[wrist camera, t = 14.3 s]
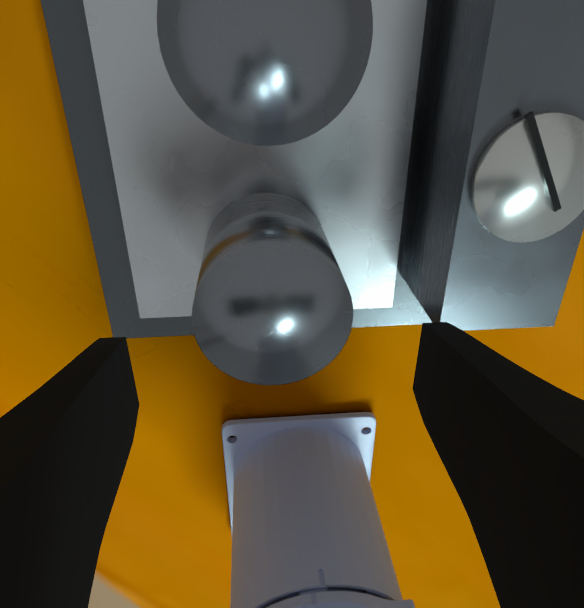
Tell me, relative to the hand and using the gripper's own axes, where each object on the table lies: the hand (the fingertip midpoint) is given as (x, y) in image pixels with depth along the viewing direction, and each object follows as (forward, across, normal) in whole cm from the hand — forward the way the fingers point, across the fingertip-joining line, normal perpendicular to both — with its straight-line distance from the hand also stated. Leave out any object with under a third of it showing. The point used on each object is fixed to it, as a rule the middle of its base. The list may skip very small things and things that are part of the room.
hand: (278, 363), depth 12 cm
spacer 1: (+7, 0, -7) cm, 10 cm away
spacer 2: (+7, 0, 0) cm, 7 cm away
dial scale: (+9, -2, -4) cm, 10 cm away
